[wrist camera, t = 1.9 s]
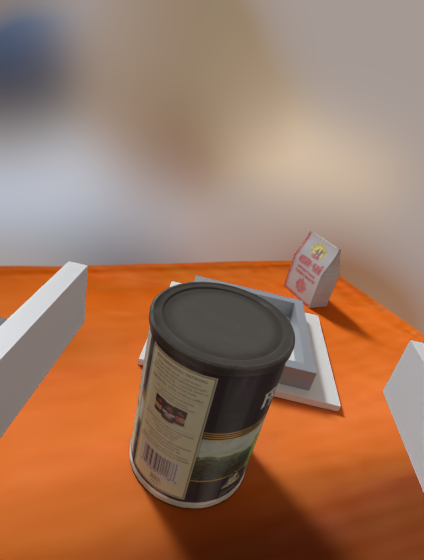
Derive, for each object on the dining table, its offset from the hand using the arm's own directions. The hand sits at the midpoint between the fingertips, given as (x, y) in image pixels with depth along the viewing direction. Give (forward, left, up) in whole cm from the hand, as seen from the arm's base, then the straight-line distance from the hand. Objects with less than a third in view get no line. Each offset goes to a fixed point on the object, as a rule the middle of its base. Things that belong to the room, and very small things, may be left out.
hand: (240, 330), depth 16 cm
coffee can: (0, +10, -20) cm, 22 cm away
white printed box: (+14, +44, -20) cm, 50 cm away
